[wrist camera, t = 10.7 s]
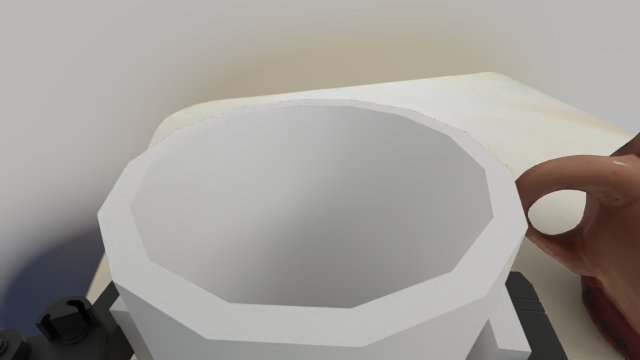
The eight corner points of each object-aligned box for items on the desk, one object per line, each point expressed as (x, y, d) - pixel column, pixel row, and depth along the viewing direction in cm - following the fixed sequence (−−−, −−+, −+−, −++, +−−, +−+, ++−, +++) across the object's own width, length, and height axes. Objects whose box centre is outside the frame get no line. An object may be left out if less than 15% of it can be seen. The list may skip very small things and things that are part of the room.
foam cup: (188, 382, 17) (81, 146, 10) (339, 292, 21) (342, 82, 14) (285, 654, 10) (175, 547, 3) (476, 442, 15) (614, 191, 7)
